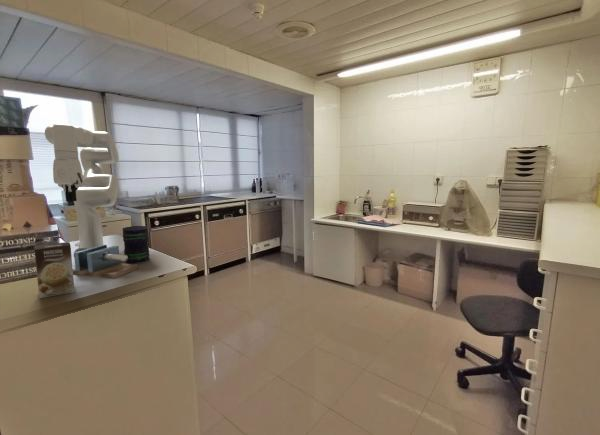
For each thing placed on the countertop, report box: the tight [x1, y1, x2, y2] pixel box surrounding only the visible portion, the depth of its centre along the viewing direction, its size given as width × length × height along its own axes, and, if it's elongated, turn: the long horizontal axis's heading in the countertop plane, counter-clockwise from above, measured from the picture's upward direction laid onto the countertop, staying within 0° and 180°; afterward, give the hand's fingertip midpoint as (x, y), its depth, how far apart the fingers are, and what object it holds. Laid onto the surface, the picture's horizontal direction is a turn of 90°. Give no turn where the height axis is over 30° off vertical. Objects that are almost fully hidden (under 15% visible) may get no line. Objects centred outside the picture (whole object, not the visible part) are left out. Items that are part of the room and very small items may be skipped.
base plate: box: [73, 262, 138, 279], centre depth 118 cm, size 20×12×2 cm, turn 78°
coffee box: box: [33, 241, 76, 299], centre depth 96 cm, size 9×6×16 cm
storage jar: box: [122, 225, 150, 265], centre depth 131 cm, size 10×10×15 cm
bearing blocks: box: [73, 244, 121, 273], centre depth 118 cm, size 8×13×7 cm, turn 168°
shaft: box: [74, 247, 128, 262], centre depth 118 cm, size 22×5×5 cm, turn 78°
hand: (71, 201), depth 122 cm, fingers closed
